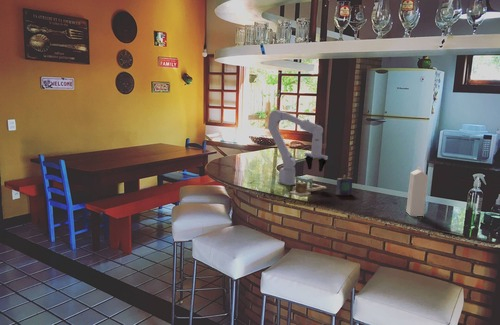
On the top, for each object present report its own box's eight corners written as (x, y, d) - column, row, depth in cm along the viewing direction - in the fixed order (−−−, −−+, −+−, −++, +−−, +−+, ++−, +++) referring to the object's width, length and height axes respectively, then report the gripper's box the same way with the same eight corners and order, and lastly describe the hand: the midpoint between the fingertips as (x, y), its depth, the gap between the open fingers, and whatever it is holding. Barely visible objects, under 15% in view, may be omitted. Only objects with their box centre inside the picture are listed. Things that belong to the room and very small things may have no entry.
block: (295, 191, 211) (296, 182, 210) (300, 190, 214) (301, 181, 213) (300, 193, 208) (301, 184, 207) (306, 192, 210) (306, 183, 210)
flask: (337, 195, 209) (338, 175, 207) (334, 194, 211) (335, 174, 210) (352, 195, 212) (354, 175, 210) (349, 193, 214) (350, 174, 213)
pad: (289, 192, 211) (289, 191, 211) (300, 190, 216) (300, 189, 216) (300, 195, 205) (300, 194, 205) (310, 194, 210) (310, 192, 210)
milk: (409, 216, 177) (414, 168, 173) (405, 212, 183) (410, 165, 179) (423, 217, 176) (429, 168, 172) (419, 213, 182) (424, 166, 178)
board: (293, 188, 221) (293, 186, 221) (313, 185, 231) (313, 183, 231) (306, 192, 213) (306, 190, 213) (326, 188, 224) (326, 186, 224)
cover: (295, 186, 220) (295, 176, 220) (301, 185, 224) (302, 175, 223) (305, 189, 214) (306, 179, 213) (312, 188, 217) (312, 178, 217)
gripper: (302, 145, 227) (300, 169, 229) (323, 148, 217) (321, 173, 219) (309, 145, 232) (308, 167, 234) (330, 148, 222) (328, 171, 224)
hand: (315, 170), depth 227 cm, fingers open, 7 cm apart
